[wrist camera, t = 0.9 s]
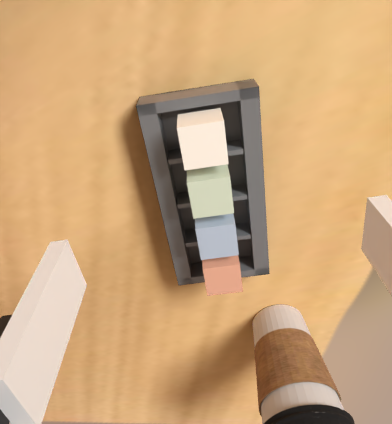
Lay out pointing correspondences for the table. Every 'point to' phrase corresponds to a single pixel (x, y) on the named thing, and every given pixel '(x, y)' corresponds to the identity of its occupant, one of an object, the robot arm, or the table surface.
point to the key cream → (202, 139)
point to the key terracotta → (222, 275)
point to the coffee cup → (292, 372)
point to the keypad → (238, 168)
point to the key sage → (210, 191)
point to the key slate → (216, 236)
